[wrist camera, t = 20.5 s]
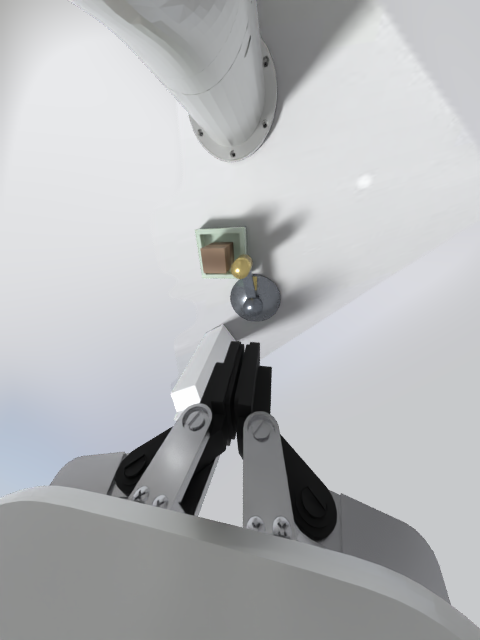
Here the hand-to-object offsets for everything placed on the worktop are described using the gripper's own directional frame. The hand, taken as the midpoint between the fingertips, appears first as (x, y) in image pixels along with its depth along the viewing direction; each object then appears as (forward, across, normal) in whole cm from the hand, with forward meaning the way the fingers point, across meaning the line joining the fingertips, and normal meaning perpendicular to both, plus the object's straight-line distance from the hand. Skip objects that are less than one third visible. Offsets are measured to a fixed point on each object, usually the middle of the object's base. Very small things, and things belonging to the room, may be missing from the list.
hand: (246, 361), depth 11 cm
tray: (+29, +8, -1) cm, 30 cm away
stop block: (+28, +8, -1) cm, 30 cm away
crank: (+26, +3, +5) cm, 27 cm away
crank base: (+29, +2, +9) cm, 31 cm away
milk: (+29, +12, +20) cm, 37 cm away
